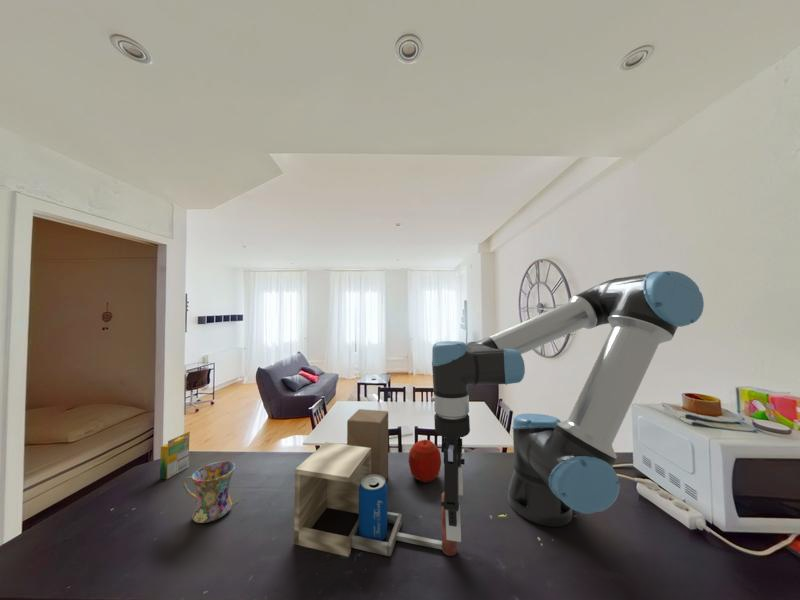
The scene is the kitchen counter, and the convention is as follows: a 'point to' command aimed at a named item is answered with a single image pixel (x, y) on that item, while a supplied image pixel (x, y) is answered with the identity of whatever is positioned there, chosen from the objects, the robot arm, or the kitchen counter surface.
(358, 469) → the open wooden box
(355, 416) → the wooden block
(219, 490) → the mug
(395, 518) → the square frame pulling tool
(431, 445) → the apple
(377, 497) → the beverage can
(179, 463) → the crayon box
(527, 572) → the kitchen counter surface
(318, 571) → the kitchen counter surface
